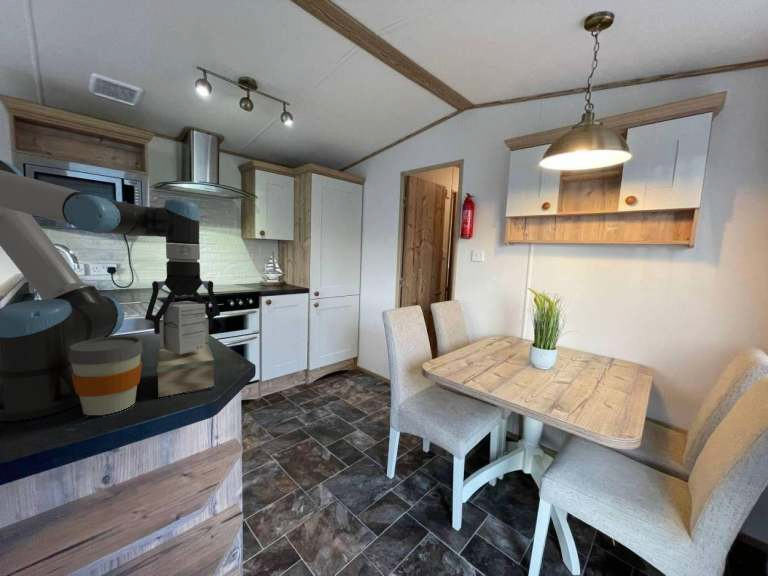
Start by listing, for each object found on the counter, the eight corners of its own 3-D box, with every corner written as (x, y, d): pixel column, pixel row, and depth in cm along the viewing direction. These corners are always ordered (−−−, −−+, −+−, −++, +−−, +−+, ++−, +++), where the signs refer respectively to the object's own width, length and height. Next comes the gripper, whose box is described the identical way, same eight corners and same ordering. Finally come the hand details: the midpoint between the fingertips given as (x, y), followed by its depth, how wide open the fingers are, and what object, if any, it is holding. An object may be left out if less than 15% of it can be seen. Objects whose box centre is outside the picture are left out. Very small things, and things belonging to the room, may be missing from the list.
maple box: (157, 399, 78) (156, 367, 77) (159, 376, 91) (158, 349, 90) (214, 389, 84) (214, 359, 84) (208, 369, 98) (208, 343, 97)
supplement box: (162, 350, 85) (161, 303, 84) (190, 343, 92) (189, 300, 90) (179, 355, 82) (178, 306, 80) (206, 348, 88) (206, 303, 87)
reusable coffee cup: (136, 390, 82) (134, 333, 80) (151, 407, 74) (149, 343, 72) (67, 407, 72) (63, 342, 70) (77, 428, 64) (72, 355, 62)
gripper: (128, 259, 75) (131, 352, 77) (231, 262, 87) (232, 342, 90) (131, 258, 81) (134, 344, 84) (227, 261, 94) (228, 335, 96)
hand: (185, 343), depth 87 cm, fingers closed on supplement box, 10 cm apart
